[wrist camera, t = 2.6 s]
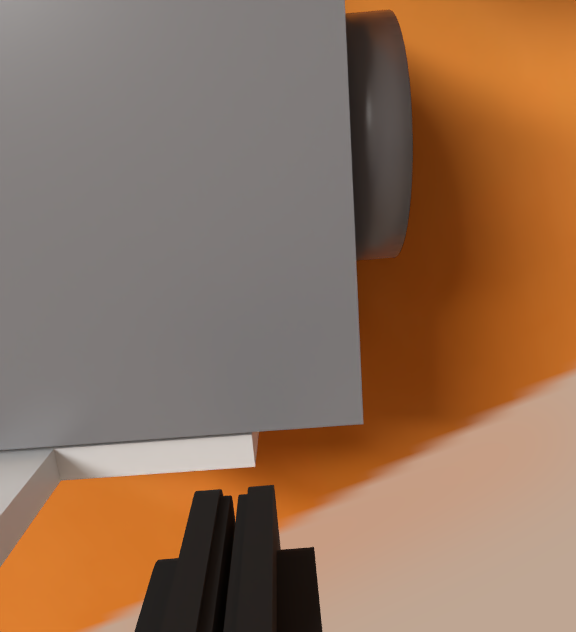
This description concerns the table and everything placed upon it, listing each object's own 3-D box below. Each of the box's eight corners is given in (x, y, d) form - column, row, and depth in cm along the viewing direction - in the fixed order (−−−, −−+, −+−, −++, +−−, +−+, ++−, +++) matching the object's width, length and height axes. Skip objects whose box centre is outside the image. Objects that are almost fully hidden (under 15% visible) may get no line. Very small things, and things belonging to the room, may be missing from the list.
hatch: (263, 345, 22) (237, 542, 11) (265, 375, 22) (244, 596, 11) (66, 359, 22) (-163, 569, 11) (72, 389, 22) (-143, 621, 11)
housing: (360, -2, 19) (430, -152, 10) (373, 346, 23) (432, 477, 14) (-231, 50, 20) (-699, -45, 10) (-125, 383, 24) (-398, 535, 14)
